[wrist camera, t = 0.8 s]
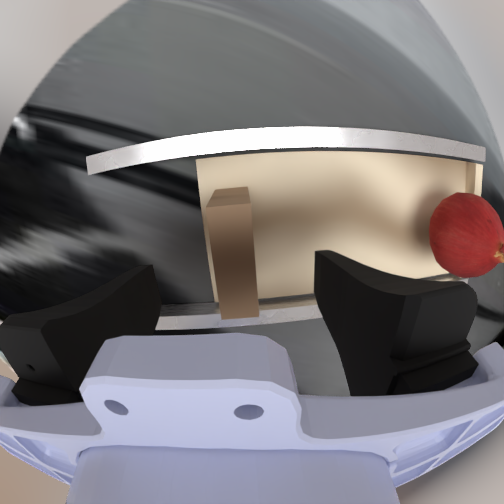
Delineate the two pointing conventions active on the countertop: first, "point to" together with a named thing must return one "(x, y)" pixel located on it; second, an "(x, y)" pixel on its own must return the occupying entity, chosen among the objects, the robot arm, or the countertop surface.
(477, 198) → the onion
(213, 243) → the cream shallow tray
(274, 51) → the countertop surface
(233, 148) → the guide rails
